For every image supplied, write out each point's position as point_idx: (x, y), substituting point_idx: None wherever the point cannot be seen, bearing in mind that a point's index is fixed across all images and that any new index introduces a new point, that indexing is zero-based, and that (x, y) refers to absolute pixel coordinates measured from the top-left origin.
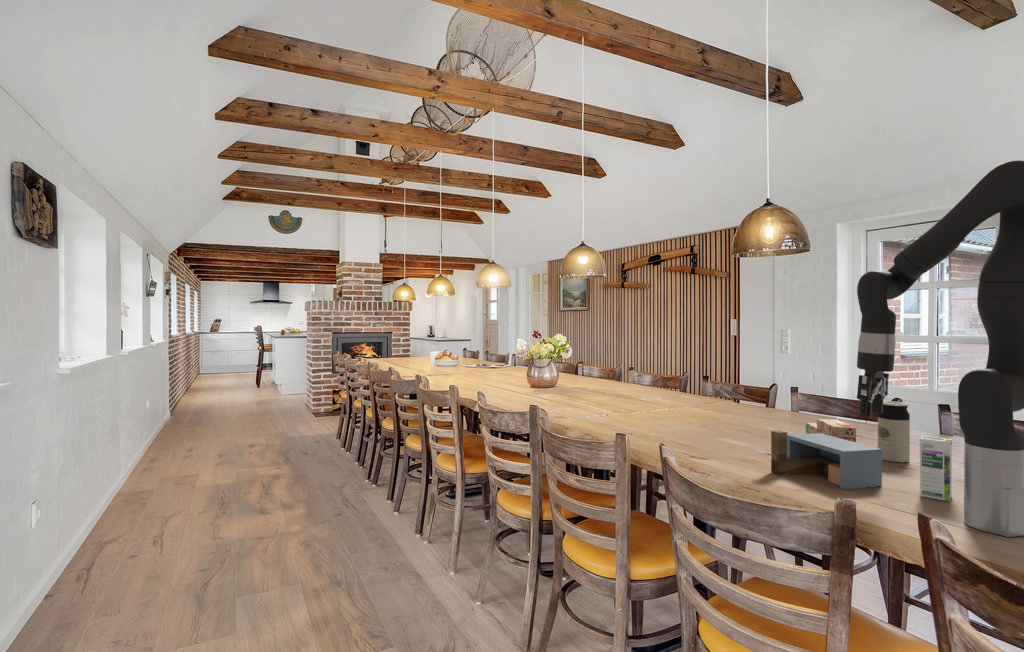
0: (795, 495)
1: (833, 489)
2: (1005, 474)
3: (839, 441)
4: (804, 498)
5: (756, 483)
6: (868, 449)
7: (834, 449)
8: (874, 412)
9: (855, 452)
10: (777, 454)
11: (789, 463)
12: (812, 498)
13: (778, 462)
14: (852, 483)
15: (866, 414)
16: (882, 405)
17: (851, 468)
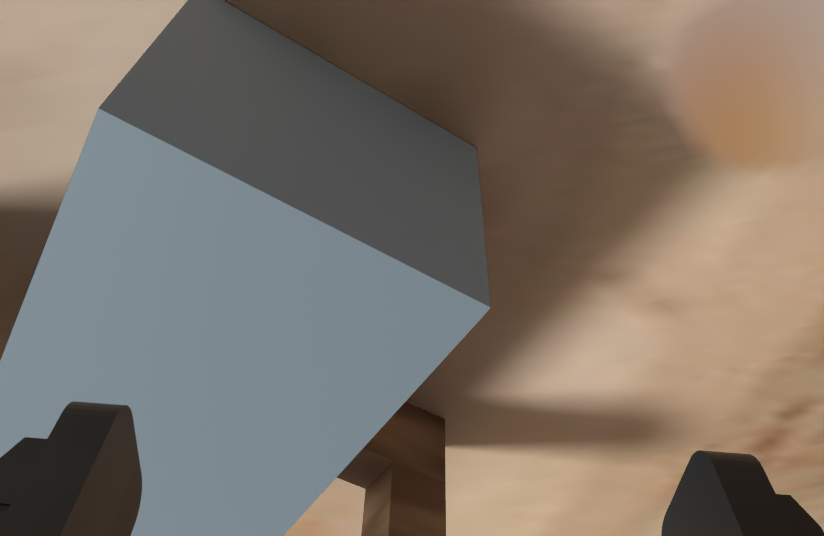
0: (775, 292)
1: (516, 189)
2: None
3: (112, 391)
4: (808, 252)
5: (665, 440)
6: (226, 192)
7: (435, 363)
8: (136, 470)
9: (389, 246)
10: (444, 516)
11: (378, 440)
12: (785, 226)
13: (441, 474)
14: (421, 132)
15: (794, 518)
16: (40, 524)
17: (425, 191)
